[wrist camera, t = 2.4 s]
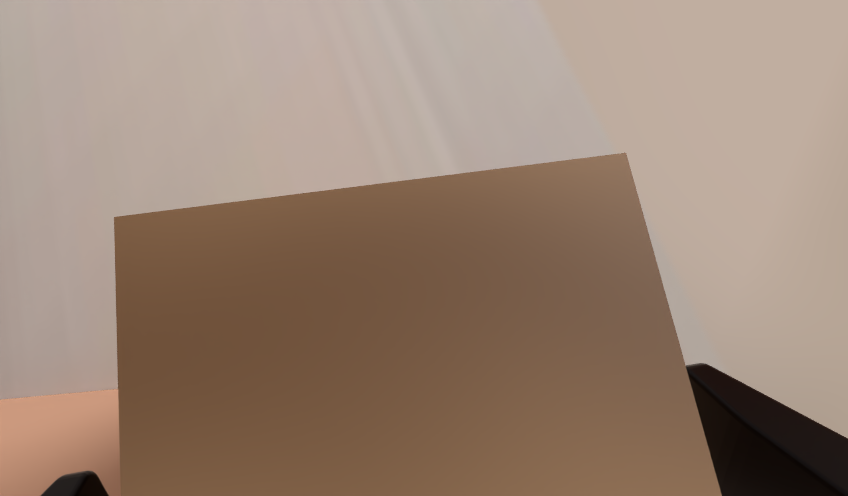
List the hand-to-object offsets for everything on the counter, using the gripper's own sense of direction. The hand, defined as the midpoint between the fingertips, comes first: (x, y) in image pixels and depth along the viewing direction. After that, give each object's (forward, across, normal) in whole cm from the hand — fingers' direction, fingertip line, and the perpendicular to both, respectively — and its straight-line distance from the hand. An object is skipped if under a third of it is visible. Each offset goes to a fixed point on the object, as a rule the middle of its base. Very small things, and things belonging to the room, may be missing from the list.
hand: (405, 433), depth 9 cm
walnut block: (+6, 0, +6) cm, 8 cm away
